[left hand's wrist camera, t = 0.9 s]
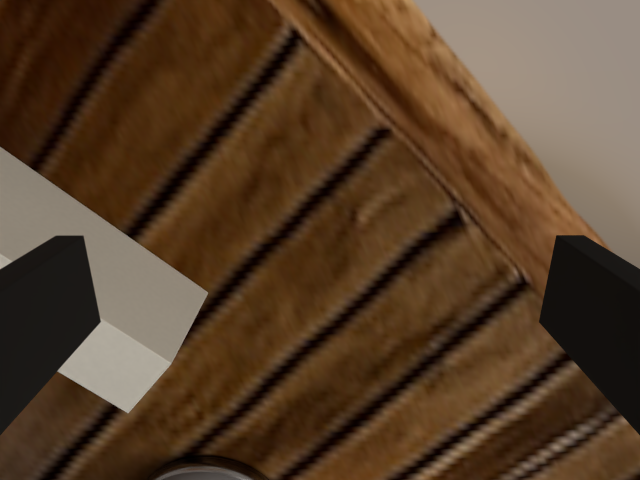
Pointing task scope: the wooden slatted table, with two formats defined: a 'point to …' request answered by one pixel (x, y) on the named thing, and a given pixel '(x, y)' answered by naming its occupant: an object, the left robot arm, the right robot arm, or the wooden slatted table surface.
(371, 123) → the wooden slatted table surface
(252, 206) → the wooden slatted table surface
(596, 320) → the left robot arm
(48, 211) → the bar
